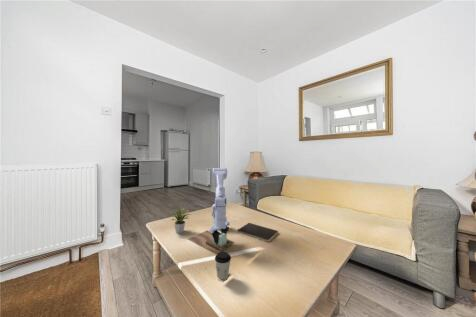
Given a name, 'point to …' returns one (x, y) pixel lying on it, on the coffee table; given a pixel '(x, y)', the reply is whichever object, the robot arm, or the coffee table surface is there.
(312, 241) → the coffee table surface
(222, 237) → the sage block
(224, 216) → the robot arm
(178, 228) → the house plant
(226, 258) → the coffee cup
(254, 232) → the hardcover book
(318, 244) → the coffee table surface
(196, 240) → the shelf
